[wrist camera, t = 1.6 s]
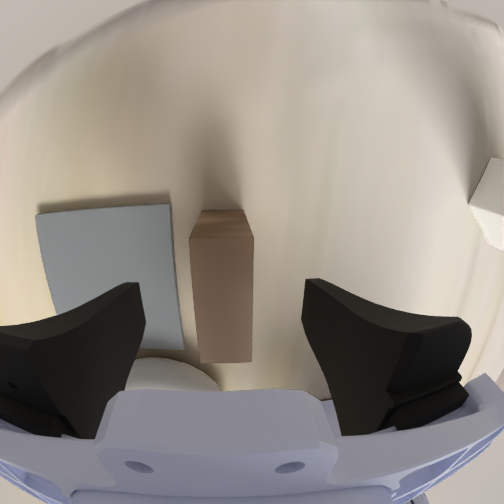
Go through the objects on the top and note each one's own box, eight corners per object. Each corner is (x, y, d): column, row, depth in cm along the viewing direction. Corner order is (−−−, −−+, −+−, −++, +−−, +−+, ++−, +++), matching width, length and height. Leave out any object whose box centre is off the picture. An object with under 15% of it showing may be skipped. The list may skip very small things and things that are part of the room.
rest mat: (171, 203, 15) (169, 204, 15) (184, 344, 18) (184, 350, 18) (39, 213, 14) (35, 215, 14) (69, 336, 17) (66, 340, 17)
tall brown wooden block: (243, 209, 16) (253, 237, 10) (242, 301, 18) (251, 361, 12) (202, 210, 16) (189, 238, 10) (206, 302, 18) (200, 363, 12)
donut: (83, 409, 16) (145, 354, 15) (94, 383, 19) (155, 324, 18) (177, 461, 19) (256, 423, 18) (179, 435, 22) (251, 392, 21)
